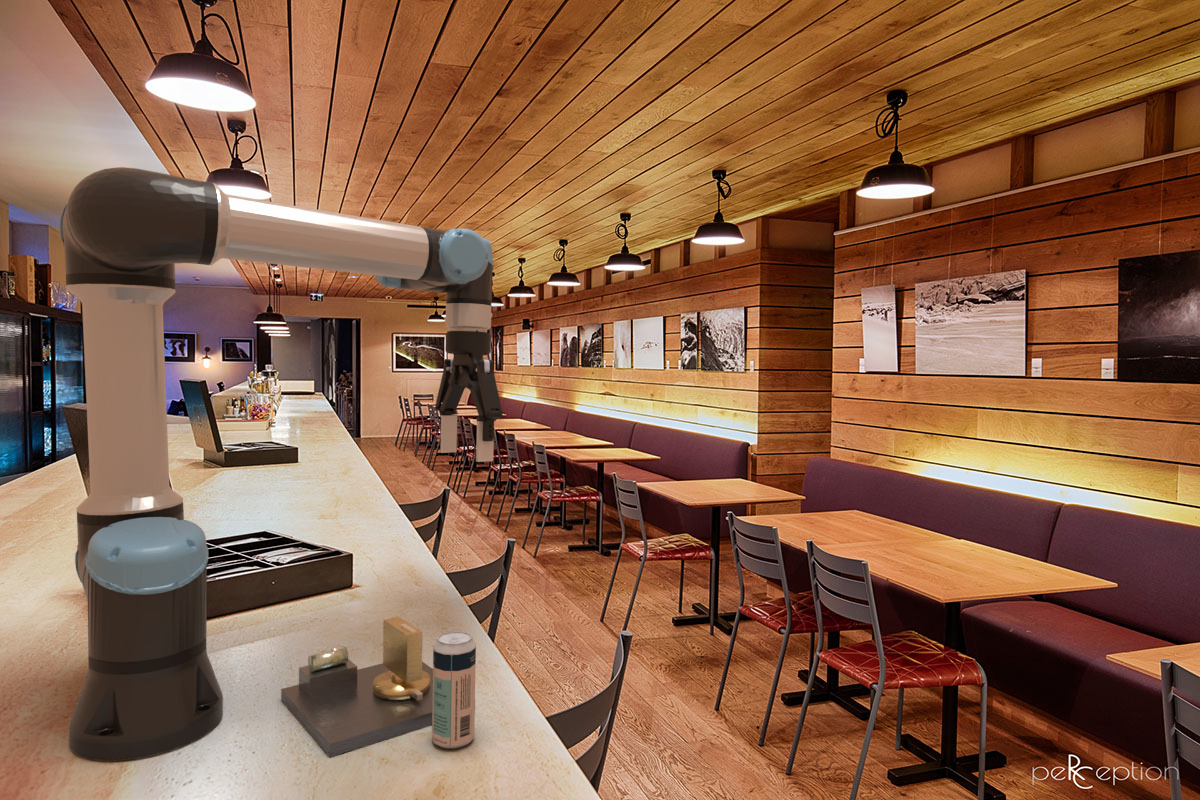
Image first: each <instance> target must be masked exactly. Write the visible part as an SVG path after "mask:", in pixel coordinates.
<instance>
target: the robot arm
mask: <svg viewBox="0 0 1200 800" xmlns="http://www.w3.org/2000/svg"><path fill="white" fill-rule="evenodd" d="M59 219H60V220H59V235H60V239H61V241H62V243H63V244H62V246H63V248H64V249H63V250H64V267H65V269H64V271H65V286H66V290H67V291H69V292H70V293H71V294H73V295H74V296H75V297H76V298H77V299H79V301H80V303H81V306H82V307H81V308H82V326H83V327H82V328H83V333H82V334H83V349H84V351H83V353H84V355H83V356H84V370H85V371H84V372H85V373H84V377H85V395H86V396H85V397H86V418H87V419H86V422H87V423H86V424H87V440H88V441H87V444H88V460H89V461H88V464H89V485H90V486H89V487H90V490H89V491H90V493H89V494H88V496H87V497H86V498H85V499H84V500H83V501H82V502H81V503H80V504H79V505H78V506H77V507H76V528H77V529H76V530H77V532H76V533H77V545H76V547H77V548H76V552H75V554H74V555H75V556H74V557H75V558H74V564H75V570H76V574H77V577H78V580H79V581H80V583H81V584H82V587H83V590H84V595H85V597H86V601H87V602H86V603H87V632H88V633H87V636H88V637H87V638H88V640H87V645H88V646H87V648H88V651H87V653H88V656H87V657H88V662H87V663H88V664H87V665H88V667H87V669H88V671H87V675H86V677H85V681H84V683H83V686H82V689H81V691H80V693H79V697H78V700H77V702H76V705H75V707H74V711H73V712H72V713H73V714H72V716H71V720H70V722H69V728H68V729H69V736H68V737H69V738H68V739H69V740H68V741H69V748H70V750H71V751H72V752H73V753H74V754H75V755H77V756H79V757H81V758H85V759H87V760H88V759H89V760H94V761H104V762H105V761H110V762H111V761H113V762H114V761H126V760H133V759H134V760H135V759H141V758H145V757H151V756H156V755H159V754H163V753H165V752H170V751H172V750H176V749H178V748H181V747H183V746H186V745H188V744H190V743H193V742H195V741H196V740H198V739H200V738H202V737H203V736H205V735H207V734H209V733H210V732H211V731H213V729H214V728H216V727H217V726H218V725H219V723H220V722H221V721H222V718H223V716H224V697H223V696H224V695H223V692H222V690H221V687H220V684H219V681H218V679H217V677H216V673H215V671H214V669H213V665H212V663H211V661H210V658H209V656H208V652H207V622H208V621H207V620H208V619H207V615H208V614H207V610H208V609H207V607H208V606H207V601H208V599H207V598H208V597H207V593H208V591H207V589H208V588H207V587H208V586H207V584H208V583H207V581H208V580H207V578H208V577H207V576H208V575H207V573H208V570H207V569H208V568H207V567H208V563H209V554H210V553H209V549H208V545H207V539H206V538H207V537H206V534H205V531H204V530H203V529H202V528H201V526H199V525H198V524H196V523H195V522H192V521H190V520H186V519H185V517H184V516H185V515H184V514H185V513H184V512H185V511H184V497H182V496H181V495H180V494H179V493H177V492H176V491H175V490H174V489H172V487H171V486H170V467H169V466H170V465H169V464H170V463H169V444H168V443H169V439H168V416H167V413H168V412H167V389H166V364H165V363H166V361H165V360H166V359H165V338H164V337H165V336H164V335H165V333H164V331H165V330H164V308H163V306H164V304H165V302H167V300H169V299H171V297H172V296H174V295H175V294H176V269H175V267H176V266H175V265H176V264H195V265H196V264H197V265H198V264H199V265H205V266H213V265H214V264H216V263H217V262H218V261H219V260H221V259H226V260H235V261H244V262H253V263H261V264H262V263H263V264H270V265H282V266H290V267H297V268H306V269H315V270H326V271H334V272H344V273H351V274H352V273H353V274H360V275H370V276H371V275H372V276H374V277H375V280H376V281H377V283H378V284H379V285H380V286H382V287H386V288H392V289H396V290H397V291H398V290H399V291H400V290H408V291H409V290H411V291H421V292H422V291H423V292H435V293H441V294H443V293H444V294H445V296H446V300H445V301H446V302H445V303H446V304H445V328H447V329H448V331H446V333H445V345H444V346H445V347H444V350H445V352H446V353H447V354H450V355H453V358H451V359H450V358H449V359H448V358H445V359H443V368H442V370H443V371H442V375H441V379H440V384H439V389H438V393H437V397H436V402H435V404H434V405H435V406H434V409H435V411H439V415H440V453H441V454H444V453H445V454H447V453H457V447H458V446H457V443H458V442H457V441H458V415H459V412H458V411H457V408H458V406H459V404H460V401H461V399H462V396H463V394H464V391H465V389H468V390H469V391H470V394H471V397H472V400H473V403H474V405H475V408H476V412H477V415H478V416H477V418H476V419H475V420H476V443H475V444H476V450H475V451H476V453H475V454H476V455H475V462H476V463H477V462H478V463H480V462H481V463H483V462H494V450H495V449H494V446H495V445H494V441H495V440H494V439H495V438H494V437H495V422H496V421H497V419H499V418H500V419H501V418H503V409H502V404H501V400H500V395H499V391H498V386H497V382H496V381H497V380H496V376H495V366H494V365H495V364H494V363H495V362H494V360H492V359H484V356H488V355H490V354H491V351H492V335H491V333H490V332H488V331H489V330H490V329H491V327H492V318H493V313H492V301H493V299H492V298H493V273H494V272H493V271H494V270H493V269H494V257H493V256H494V255H493V254H494V253H493V245H492V242H491V241H490V240H489V239H487V238H484V237H481V235H480V234H479V233H477V232H476V231H474V230H472V229H470V228H450V229H449V230H443V229H437V228H432V227H423V226H419V225H412V224H405V223H401V222H400V223H399V222H395V221H388V220H387V221H386V220H384V219H383V220H382V219H376V218H371V217H370V218H369V217H363V216H358V215H352V214H347V213H346V214H345V213H341V212H340V213H339V212H336V211H328V210H323V209H316V208H311V207H304V206H299V205H293V204H286V203H281V202H274V201H267V200H262V199H258V198H257V199H256V198H251V197H244V196H240V195H239V196H238V195H232V194H227V193H225V192H224V191H223V190H222V188H220V186H218V185H217V184H216V183H213V182H209V181H202V180H197V179H191V178H186V177H181V176H177V175H172V174H166V173H164V172H163V173H162V172H157V171H152V170H147V169H140V168H136V167H123V166H120V167H110V168H104V169H101V170H98V171H94V172H92V173H91V174H89V175H87V176H85V177H84V178H83V179H81V180H80V181H79V182H78V183H77V184H76V185H75V187H74V188H73V190H72V192H71V193H70V196H69V197H68V201H67V203H66V205H65V206H64V208H63V210H62V212H61V215H60V218H59Z"/></svg>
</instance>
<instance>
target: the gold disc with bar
mask: <svg viewBox="0 0 1200 800" xmlns="http://www.w3.org/2000/svg"><path fill="white" fill-rule="evenodd" d="M382 625H383V626H382V627H383V630H382V631H383V634H382V635H383V638H382V641H383V642H382V649H383V650H382V663H383V665H384V666H385V667H386V668H388V669H389V670H390V671H387V672H384V673H382V674H380V675H378V676H377V677H376V678H375V679H374V681H373V692H374V694H375V695H376V696H378V697H380V698H383V699H389V700H403V699H409V698H414V699H416V700H417V701H418V700H422V699H423V693H425V692H426V691H427V690H428V689H429V687H430V675H429V674H428V673H427V672H425V671H422V662H423V631H422V630H420V629H419V628H417V627H415V626H414V625H412V624H411V623H409V622H407V621H406V620H405V619H403V618H401V617H400V616H394V617H389V618H383V624H382Z"/></svg>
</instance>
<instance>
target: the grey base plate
mask: <svg viewBox="0 0 1200 800" xmlns="http://www.w3.org/2000/svg"><path fill="white" fill-rule="evenodd" d="M307 664H308V665H305V666H304V665H303V666H300V667H298V684H296V685H291V686H287V687H284V688H281V689H280V693H281V694H280V697H281V698H280V701H281V702H282V704H284V706H286V708H287V710H289V711H290V713H291V714H292V715H293V716H294V718H296V720H297V721H298V722H299V723H300V724H301V726H302V727H303V728H304V729H305V730H306V731H307V733H308V734H309V735H310V736H311V737H312V738H313V739H314V741H315V742H316V743H317V744H318V746H319V747H320V748H321V749H322V750H323V751H324V752H325V753H326V755H327V756H328V757H329V758H333V757H336V756H339V755H341V754H345V753H348V752H353V751H354V750H357V749H361V748H364V747H367V746H371V745H373V744H376V743H379V742H382V741H385V740H388V739H392V738H395V737H397V736H401V735H403V734H407V733H410V732H414V731H416V730H419V729H423V728H425V727H428V726H429V727H430V726H432V705H433V667H431V666H429V664H426V663H425V662H423V661H422V671H425V672H427V673H428V674H429V675H430V687H429V689H428V690H427V691H426V692H425V693H423V699H422V700H418V701H417V700H416V699H414V698H409V699H403V700H389V699H383V698H380V697H378V696H376V695H375V694H374V692H373V681H374V679H375V678H376V677H377V676H378V675H380V674H382V673H384V672H387V671H390V670H389V669H388V668H386V667H385V666H384V665H383V662H382V663H378V664H375V665H371V666H367V667H362V668H359V669H358V666H357V665H356V663H354V662H353V661H351V659H349V651H348V649H347V647H340V648H338V647H335V646H334V647H332V648H331V649H330V650H328V651H324V652H319V653H314V654H309V656H308V658H307Z"/></svg>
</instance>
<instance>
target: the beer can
mask: <svg viewBox="0 0 1200 800" xmlns="http://www.w3.org/2000/svg"><path fill="white" fill-rule="evenodd" d="M476 643H477V642H475V641H474V639H473V637H472V635H471V633H468V632H466V631H449V632H448V631H447V632H444V633H443V632H442V633H441V634H440V635H438V636H437V637H436V639H435V642H434V644H433V647H432V648H433V651H432V653H433V654H432V669H433V705H432V725H431V740H432V742H433V744H434V745H436V746H439V747H440V748H443V749H446V750H453V749H454V750H455V749H459V748H463V747H465V746H466V745H468V744H469V743H471V741H473V740H474V737H475V721H476V720H475V716H476V715H475V713H476V712H475V711H476V664H477V663H476V655H477V653H476V651H477V650H476V649H477V644H476Z"/></svg>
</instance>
